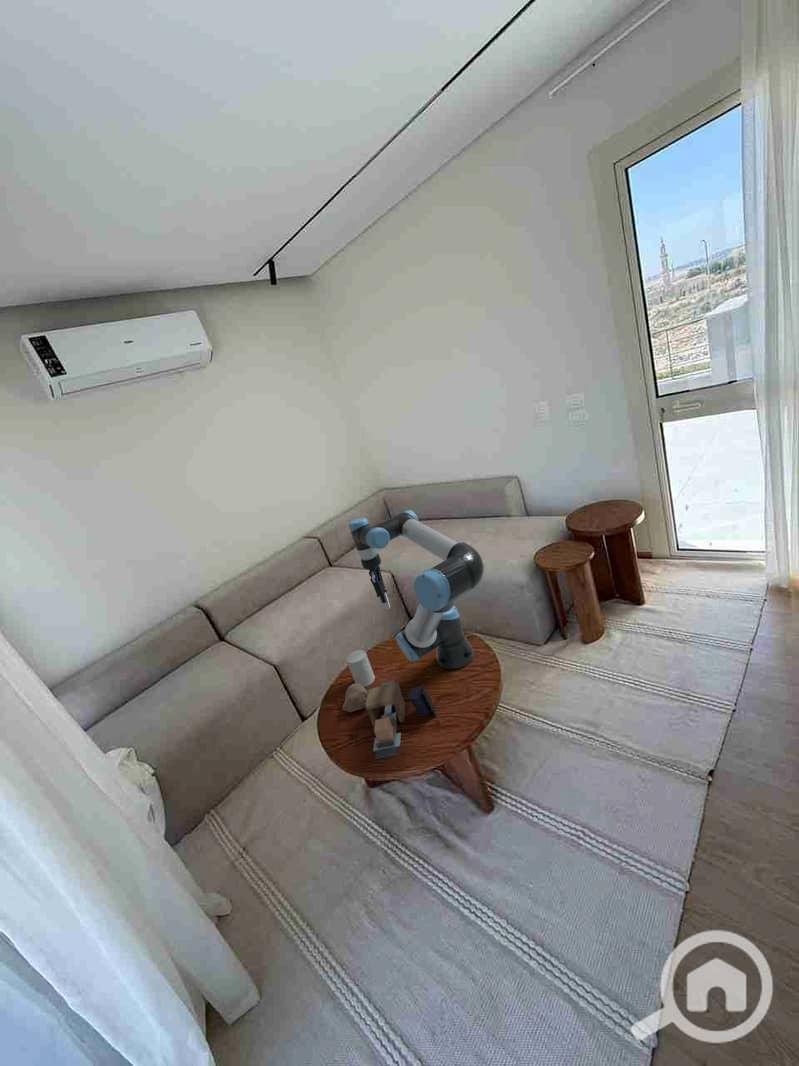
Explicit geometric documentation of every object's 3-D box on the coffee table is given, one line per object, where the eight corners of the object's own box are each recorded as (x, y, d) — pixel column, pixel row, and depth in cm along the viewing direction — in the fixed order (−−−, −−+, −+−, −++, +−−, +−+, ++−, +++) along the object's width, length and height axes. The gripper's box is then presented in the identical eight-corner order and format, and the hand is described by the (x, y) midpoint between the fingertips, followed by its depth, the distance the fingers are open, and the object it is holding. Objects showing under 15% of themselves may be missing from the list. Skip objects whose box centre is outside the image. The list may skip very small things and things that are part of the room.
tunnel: (405, 703, 159) (397, 682, 156) (404, 721, 150) (396, 700, 148) (376, 709, 160) (368, 689, 157) (373, 727, 152) (365, 706, 149)
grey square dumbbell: (398, 689, 166) (395, 680, 164) (395, 744, 141) (390, 733, 140) (383, 693, 167) (380, 683, 165) (377, 748, 142) (373, 737, 140)
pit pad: (397, 747, 140) (396, 747, 140) (396, 755, 137) (396, 755, 137) (376, 751, 141) (376, 751, 141) (375, 759, 138) (375, 759, 138)
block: (393, 728, 146) (388, 717, 145) (392, 740, 142) (387, 728, 140) (380, 731, 147) (375, 719, 145) (378, 743, 142) (374, 731, 141)
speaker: (439, 703, 153) (428, 681, 150) (436, 716, 148) (424, 693, 145) (420, 705, 156) (409, 683, 153) (416, 718, 151) (404, 696, 148)
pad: (400, 733, 146) (400, 732, 146) (400, 746, 141) (399, 745, 140) (375, 738, 147) (374, 737, 147) (373, 751, 142) (373, 750, 142)
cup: (372, 686, 174) (362, 661, 170) (353, 688, 176) (343, 663, 172) (376, 672, 181) (368, 648, 178) (358, 675, 183) (349, 651, 180)
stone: (370, 716, 161) (374, 689, 161) (346, 717, 157) (350, 689, 158) (360, 703, 172) (364, 678, 173) (337, 703, 169) (341, 677, 169)
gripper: (362, 552, 178) (379, 602, 185) (358, 565, 166) (376, 618, 173) (379, 547, 177) (396, 598, 184) (376, 560, 165) (394, 613, 172)
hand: (386, 608), depth 178 cm, fingers closed
